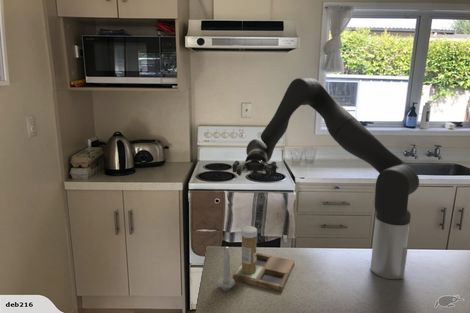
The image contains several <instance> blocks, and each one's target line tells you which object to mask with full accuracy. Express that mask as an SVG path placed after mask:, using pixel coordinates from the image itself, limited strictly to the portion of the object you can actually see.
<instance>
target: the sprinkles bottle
mask: <svg viewBox="0 0 470 313" xmlns="http://www.w3.org/2000/svg"><path fill="white" fill-rule="evenodd" d="M240 230H241V233H240V235H241V263H242V271H243V272H244V273H247V274H252V273H254V272H256V253H257V236H258V228H256V227H255V226H252V225H247V226H243V227H242V228H241V229H240Z"/></svg>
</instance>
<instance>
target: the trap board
mask: <svg viewBox="0 0 470 313" xmlns="http://www.w3.org/2000/svg"><path fill="white" fill-rule="evenodd" d="M294 267H295V260H293V259H289V258H283V257H279V256H274V255H270V254H265V253H264V254H263V253H260V252H256V272H254V273H252V274H247V273H244V272H243V271H242V262H241V263H240V264H239V266H238V267H237V268H236V270H235V272H234V273H233V274H232V278H233V279H234V280H235V281H237V282H241V283H245V284H248V285H253V286H256V287H257V286H258V287H261V288H265V289H269V290H274V291H277V292H280V293H283V292H284V288H285V287H286V284H287V282H288V280H289V277H290V276H291V273H292V271H293V269H294Z"/></svg>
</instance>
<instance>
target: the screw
mask: <svg viewBox="0 0 470 313" xmlns="http://www.w3.org/2000/svg"><path fill="white" fill-rule="evenodd" d="M229 253H230V252H229V247H228V246H224V247H223V255H222V273H223V274H222V277H220V278H219V279H218V280H217V285H218V287H220V288H221V290H222V291H224V292H228V291H231V288H232V287H234V286H235V284H236V282H235V281H236V280H234V279H233V277H231V276H230V255H229Z"/></svg>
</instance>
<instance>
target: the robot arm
mask: <svg viewBox="0 0 470 313" xmlns="http://www.w3.org/2000/svg"><path fill="white" fill-rule="evenodd" d="M301 106H309V107H311V108H313V110H315V111H316V112H317V113H318V114H319V115H320V116H321V117H322V120H323V121H324V124H325V126H326V129H327V131H328V133H329V135H330V136H331V137H332V139H333V140H334V141H335V142H336V143H337V144H338V145H339V146H340V147H341V148H342V149H344V150H345V151H346V152H347V153H349V154H351V155H352V156H355V157H356V158H358V159H360V160H362V161H364V162H365V163H367V164H369V165H370V166H371V167H372V168H374V170H375V171H376V172H378V173H379V174H378V176H377V178H376V182H375V191H374V210H375V220H374V221H375V222H374V231H373V240H372V250H371V259H370V270H371V272H373V274H375V275H376V276H379V277H381V278H383V279H387V280H398V279H399V280H400V279H401V280H405V273H406V265H407V255H408V247H407V246H408V240H409V239H408V238H409V234H410V223H411V217H412V216H411V215H412V214H411V212H410V211H409V209H408V203H409V196H410V195H412V194H413V193H415V192H416V191H417V190H418V188H419V187H420V178H419V176H418V174H417V172H416V170H414V168H413V167H411V166H410V164H408V163H407V162H405V161H404V160H402V159H401V158H400V157H398V155H395V153H393V152H392V151H391V150H390V149H388V148H387V147H386V146H385V145H384V144H383V143H382V142H381V141H380V140H379V139H378V138H376V136H375V135H374V134H372V133H371V132H370V131H369V130H368V129H367V128H366V127H365V126H364V125H363V124H362V122H360V121H359V120H358V119H357V118H355V117H354V116H353V114H351V113H350V112H349V111H348V110H347V109H345V108H344V107H343V105H341V104H340V103H339V102H338V101H336V99H334V97H332V95H331V94H330V93H329V92H328V90H327V89H326V88H325V87H324V85H322V83H321V82H320V81H318V80H317V79H315V78H313V77H297V78H295V79H292V81H291V82H290V83H289V85H288V86H287V89H286V91H285V92H284V95H283V97H282V99H281V101H280V103H279V105H278V107H277V109H276V111H275V113H274V114H273V116H272V118H271V120H270V121H269V123H268V124H267V125H266V126H265V128H264V130H263V131H262V132H261V134H260V139H261V140H259V139H252V140H250V141H249V143H248V144H247V146H246V150H245V151H246V152H245V153H246V158H245V161H242V163H241V162H240V161H239V160H235V161H234V162H233V164H231V165H232V166H231V167H232V173H236V174H237V175H238V177H239V176H240V177H241V176H242V173H243V174H246V173H250V174H253V175H260V174H265V177H269V176H271V173H272V174H277V162H276V161H271V158H272V156H273V153H274V149H275V147H276V145H277V144H278V142H279V141H280V139H282V138H283V136H284V135H285V133H286V131H287V130H288V127H289V123H290V119H291V116H293V114H294V113H295V112H296V110H298V108H299V107H301ZM270 161H271V163H269V162H270Z"/></svg>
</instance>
